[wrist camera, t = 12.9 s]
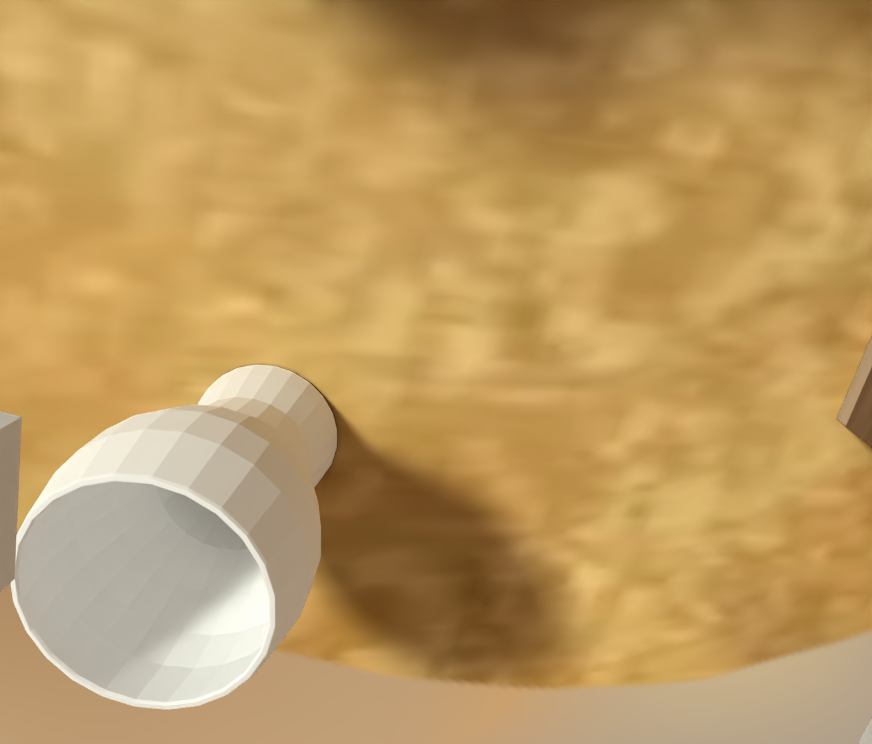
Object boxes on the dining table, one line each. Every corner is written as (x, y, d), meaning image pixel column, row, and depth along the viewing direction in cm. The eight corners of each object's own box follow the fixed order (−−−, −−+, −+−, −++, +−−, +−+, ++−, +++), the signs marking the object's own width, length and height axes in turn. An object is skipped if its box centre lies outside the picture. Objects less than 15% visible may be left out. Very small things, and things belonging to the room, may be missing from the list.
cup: (396, 392, 38) (342, 543, 24) (318, 549, 41) (229, 765, 27) (209, 303, 37) (38, 405, 23) (145, 469, 41) (-41, 649, 26)
